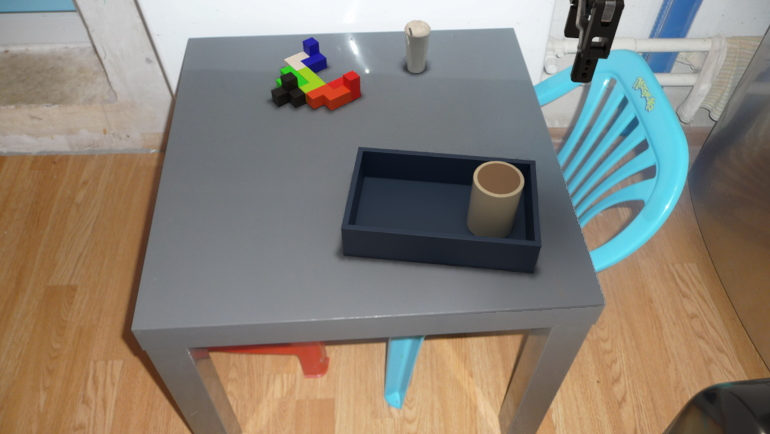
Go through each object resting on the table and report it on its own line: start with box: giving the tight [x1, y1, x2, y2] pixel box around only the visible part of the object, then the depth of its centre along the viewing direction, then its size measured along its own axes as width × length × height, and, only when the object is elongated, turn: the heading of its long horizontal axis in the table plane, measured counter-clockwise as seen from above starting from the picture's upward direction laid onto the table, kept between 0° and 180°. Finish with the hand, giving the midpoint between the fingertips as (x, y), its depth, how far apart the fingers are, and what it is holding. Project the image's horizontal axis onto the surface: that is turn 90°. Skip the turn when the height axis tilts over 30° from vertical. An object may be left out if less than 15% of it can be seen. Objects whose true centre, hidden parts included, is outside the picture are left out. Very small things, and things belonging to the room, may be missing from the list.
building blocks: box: [270, 36, 362, 111], centre depth 102 cm, size 15×13×4 cm
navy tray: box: [340, 146, 543, 274], centre depth 82 cm, size 26×16×6 cm, turn 83°
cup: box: [466, 161, 524, 238], centre depth 80 cm, size 7×7×9 cm
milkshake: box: [403, 19, 432, 74], centre depth 104 cm, size 5×5×10 cm
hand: (576, 57), depth 65 cm, fingers open, 8 cm apart
